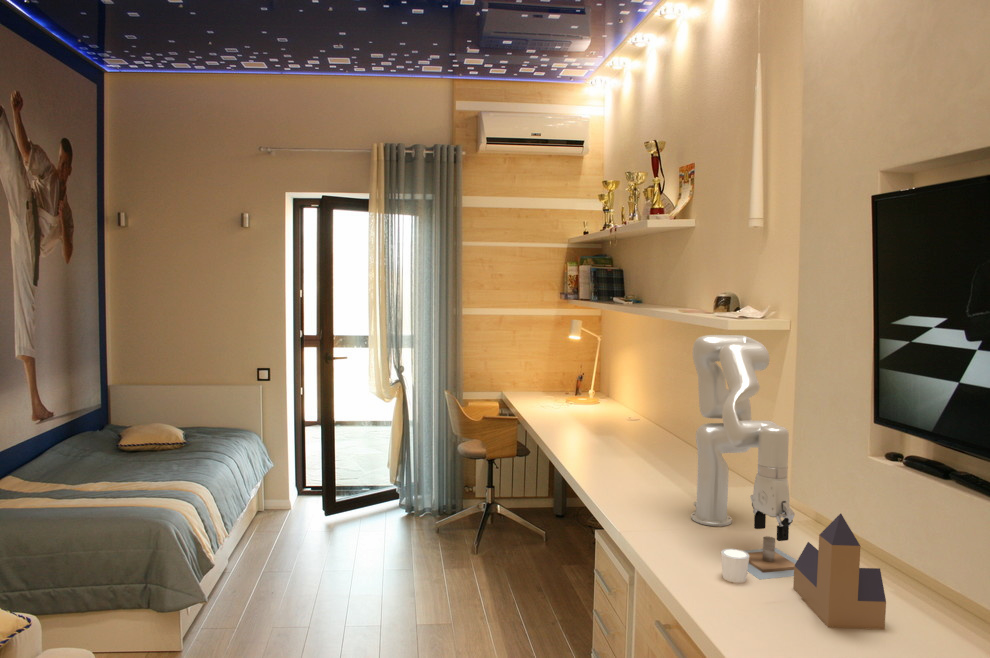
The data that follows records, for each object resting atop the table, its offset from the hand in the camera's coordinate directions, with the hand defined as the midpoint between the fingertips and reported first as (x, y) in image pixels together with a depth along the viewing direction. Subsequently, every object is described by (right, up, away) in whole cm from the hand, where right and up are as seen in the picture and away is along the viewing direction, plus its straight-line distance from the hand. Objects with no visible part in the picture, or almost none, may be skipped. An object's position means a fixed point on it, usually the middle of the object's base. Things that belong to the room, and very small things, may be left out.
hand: (770, 534), depth 185 cm
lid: (0, -8, +1) cm, 8 cm away
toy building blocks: (+6, -11, -24) cm, 27 cm away
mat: (0, -9, +1) cm, 9 cm away
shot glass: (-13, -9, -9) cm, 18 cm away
